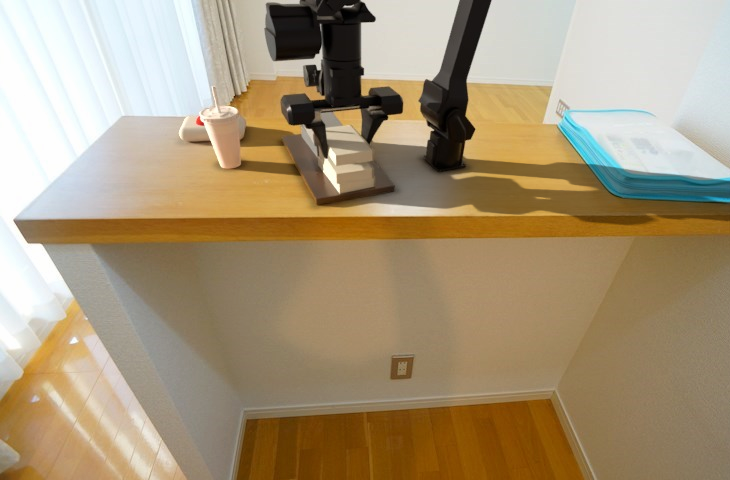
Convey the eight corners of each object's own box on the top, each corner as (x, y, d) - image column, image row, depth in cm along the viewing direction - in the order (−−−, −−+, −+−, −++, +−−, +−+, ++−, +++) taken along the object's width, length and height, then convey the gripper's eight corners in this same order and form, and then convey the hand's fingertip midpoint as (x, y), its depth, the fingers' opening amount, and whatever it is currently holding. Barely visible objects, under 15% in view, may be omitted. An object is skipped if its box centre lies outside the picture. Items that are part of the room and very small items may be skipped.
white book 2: (353, 150, 77) (353, 141, 76) (373, 178, 70) (374, 168, 69) (319, 155, 75) (318, 145, 74) (336, 184, 68) (336, 174, 66)
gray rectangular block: (329, 133, 87) (329, 121, 86) (348, 155, 80) (348, 142, 78) (301, 136, 85) (300, 124, 83) (318, 159, 78) (317, 146, 76)
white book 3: (350, 159, 79) (350, 150, 77) (375, 186, 71) (375, 177, 70) (318, 165, 76) (317, 156, 75) (339, 193, 69) (339, 184, 68)
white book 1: (351, 134, 75) (351, 124, 74) (374, 160, 68) (374, 150, 67) (316, 138, 73) (316, 128, 72) (336, 166, 66) (335, 155, 64)
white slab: (244, 103, 89) (240, 121, 81) (248, 123, 92) (244, 142, 84) (183, 104, 87) (173, 122, 79) (189, 124, 89) (180, 143, 82)
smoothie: (213, 174, 74) (192, 93, 65) (211, 158, 78) (191, 80, 69) (250, 169, 76) (235, 90, 67) (246, 154, 80) (232, 78, 71)
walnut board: (346, 133, 90) (346, 128, 90) (394, 191, 73) (394, 185, 72) (282, 141, 86) (281, 136, 85) (316, 205, 68) (316, 199, 67)
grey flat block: (331, 121, 86) (330, 108, 84) (346, 142, 78) (346, 129, 76) (302, 123, 84) (300, 111, 82) (315, 146, 76) (314, 132, 74)
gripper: (379, 41, 70) (377, 130, 80) (266, 45, 63) (280, 142, 73) (407, 58, 62) (401, 155, 72) (282, 66, 56) (295, 171, 66)
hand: (344, 155), depth 71 cm, fingers closed on white book 1, 6 cm apart
